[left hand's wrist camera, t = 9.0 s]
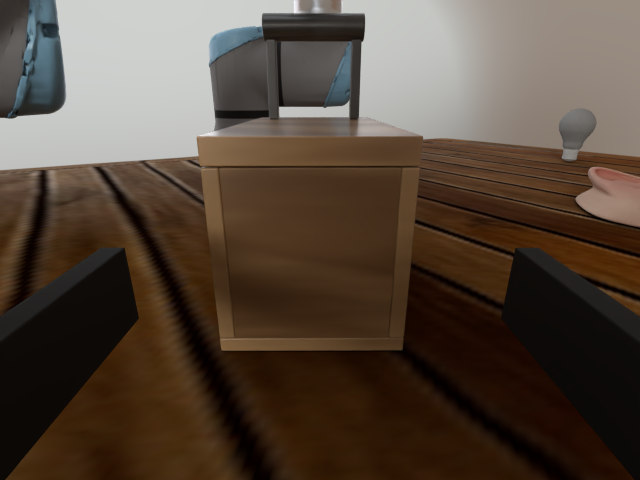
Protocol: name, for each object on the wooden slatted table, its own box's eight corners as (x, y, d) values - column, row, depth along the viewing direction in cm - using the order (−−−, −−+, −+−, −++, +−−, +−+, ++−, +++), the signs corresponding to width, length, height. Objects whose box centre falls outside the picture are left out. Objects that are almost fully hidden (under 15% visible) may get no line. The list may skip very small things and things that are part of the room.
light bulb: (558, 162, 73) (570, 109, 69) (547, 158, 78) (558, 108, 75) (592, 163, 72) (606, 109, 68) (578, 159, 77) (591, 108, 73)
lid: (261, 132, 32) (255, 21, 29) (367, 132, 32) (372, 21, 29) (199, 166, 15) (170, -87, 12) (420, 166, 15) (444, -87, 12)
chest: (266, 234, 35) (260, 133, 31) (363, 234, 35) (368, 133, 31) (220, 351, 18) (199, 167, 15) (402, 350, 18) (420, 167, 15)
